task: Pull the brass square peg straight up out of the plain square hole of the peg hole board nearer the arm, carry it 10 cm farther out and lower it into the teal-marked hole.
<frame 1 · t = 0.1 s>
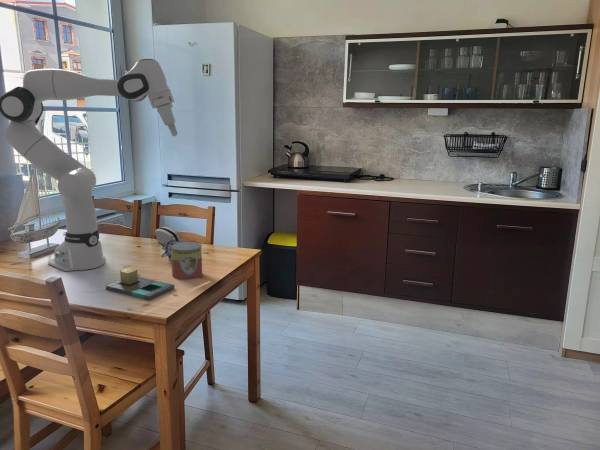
hand: (175, 135, 184), 52 cm above the table, tool tilted 20°, fingers open, 8 cm apart
peg hole board: (140, 290, 161), on the table
passion flower: (176, 260, 195), on the table
canned food: (187, 276, 177), on the table
brass peg: (129, 286, 163), resting on peg hole board
grey curved piece: (169, 246, 217), on the table
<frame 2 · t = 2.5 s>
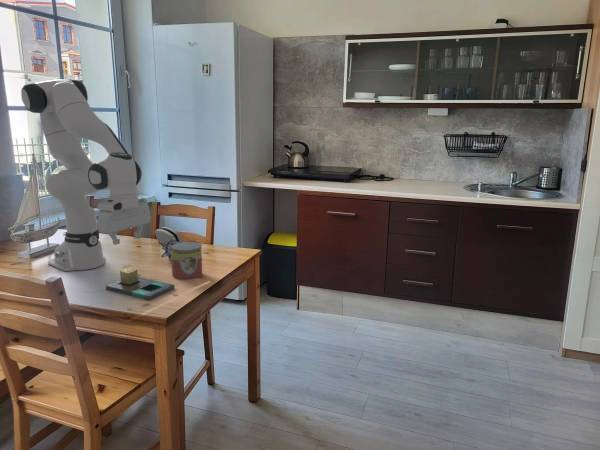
hand: (127, 241, 159), 17 cm above the table, tool pointing down, fingers open, 8 cm apart
nothing on the table moved.
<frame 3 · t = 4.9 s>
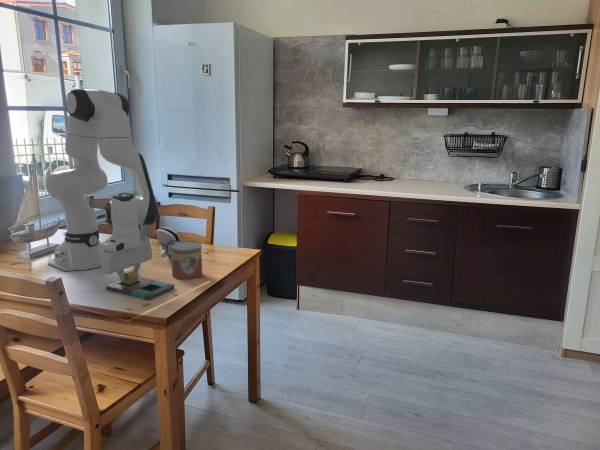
hand: (129, 278, 162), 4 cm above the table, tool pointing down, fingers closed on brass peg, 4 cm apart
brass peg: (129, 286, 163), point 1 cm above the table, touching gripper, peg hole board
everything else where it was.
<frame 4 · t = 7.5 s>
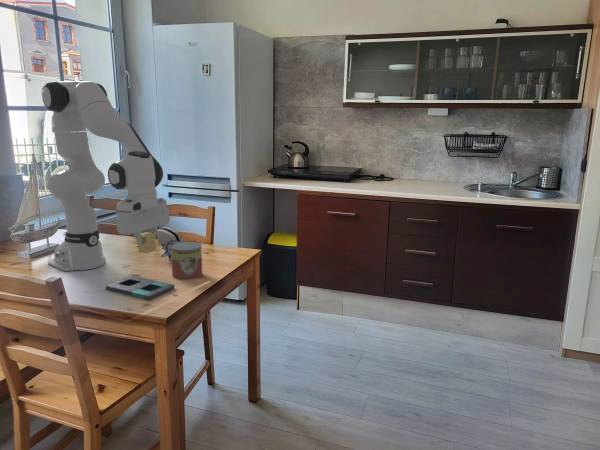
hand: (146, 242, 155), 18 cm above the table, tool pointing down, fingers closed on brass peg, 4 cm apart
brass peg: (147, 251, 155), point 15 cm above the table, touching gripper
everything else where it was.
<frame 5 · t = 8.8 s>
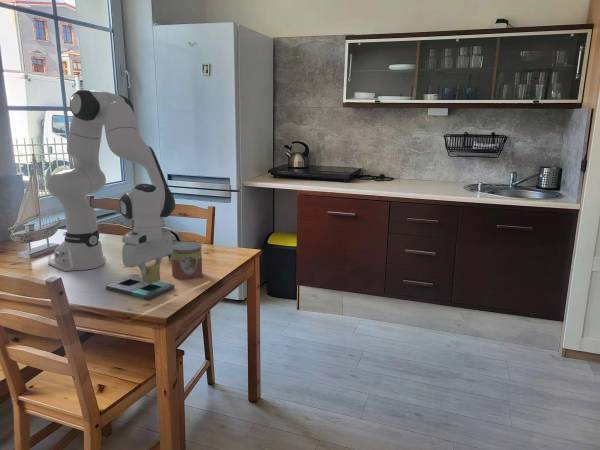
hand: (150, 272, 157), 7 cm above the table, tool pointing down, fingers closed on brass peg, 4 cm apart
brass peg: (151, 281, 158), point 4 cm above the table, touching gripper
everything else where it was.
when the fingers open (5 cm above the table, at t = 10.1 s): brass peg drops 1 cm, resting on peg hole board.
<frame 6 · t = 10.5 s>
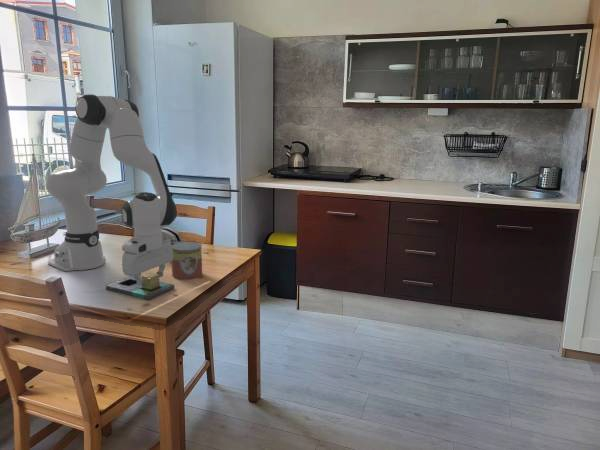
hand: (150, 280, 158), 5 cm above the table, tool pointing down, fingers open, 8 cm apart
brass peg: (151, 291, 159), resting on peg hole board
everything else where it was.
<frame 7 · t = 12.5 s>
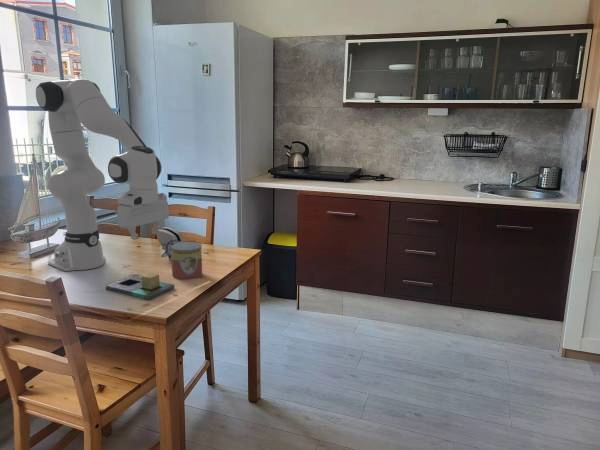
hand: (145, 236, 156), 20 cm above the table, tool pointing down, fingers open, 8 cm apart
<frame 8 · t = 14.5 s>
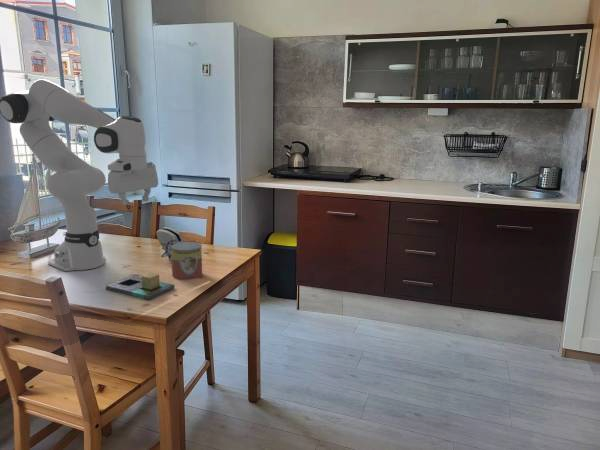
hand: (135, 202, 165), 29 cm above the table, tool pointing down, fingers open, 8 cm apart
at the end: brass peg 0.0 cm from the target spot on the peg hole board, point 0.5 cm above the peg hole board's base; brass peg tilted 0°; the gripper is holding nothing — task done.
